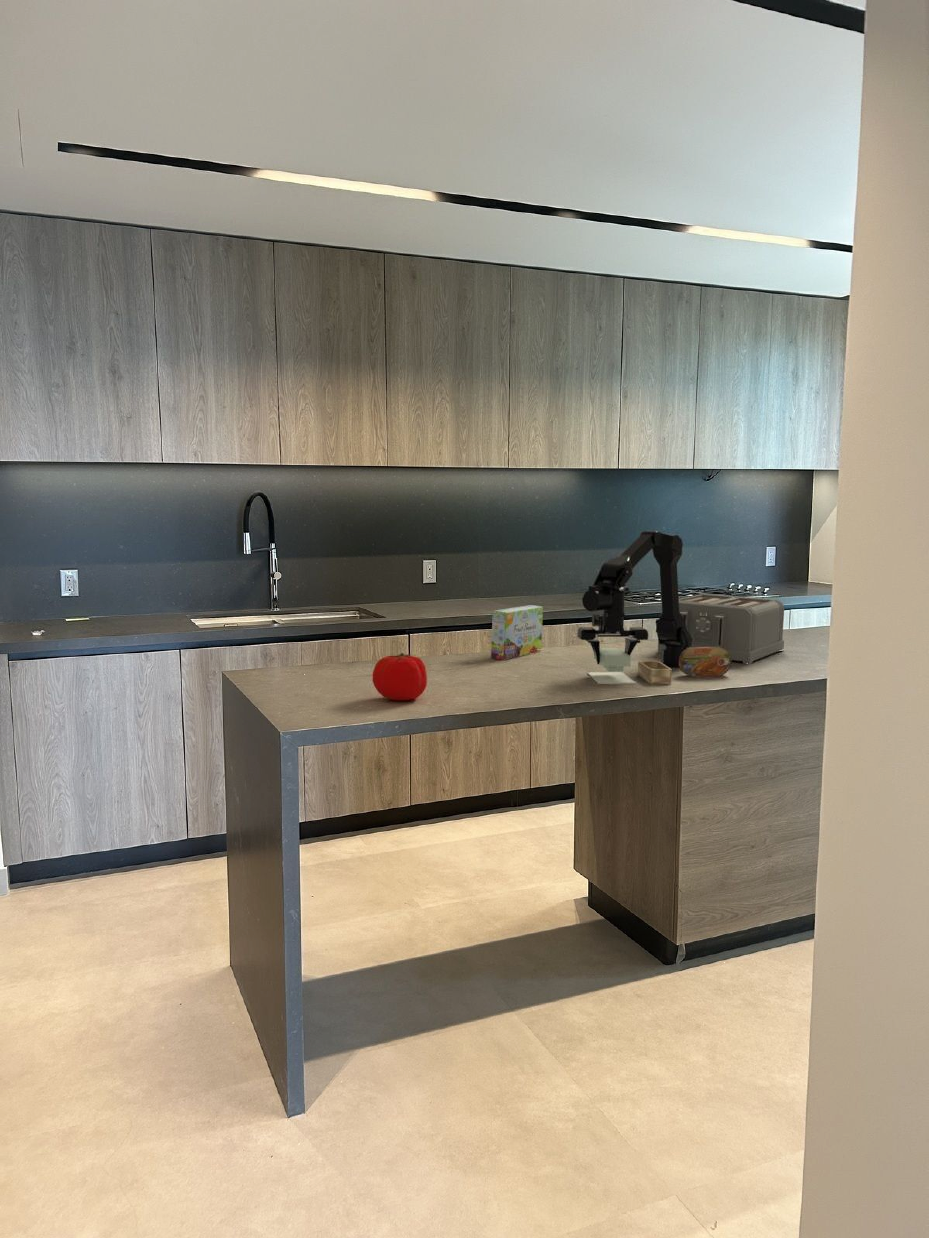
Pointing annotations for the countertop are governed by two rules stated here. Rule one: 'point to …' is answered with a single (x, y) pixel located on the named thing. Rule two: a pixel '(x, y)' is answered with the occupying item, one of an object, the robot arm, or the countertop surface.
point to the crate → (654, 672)
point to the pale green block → (614, 659)
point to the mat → (611, 678)
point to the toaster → (734, 624)
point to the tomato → (400, 677)
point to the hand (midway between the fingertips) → (611, 664)
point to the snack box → (516, 631)
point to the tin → (705, 661)
